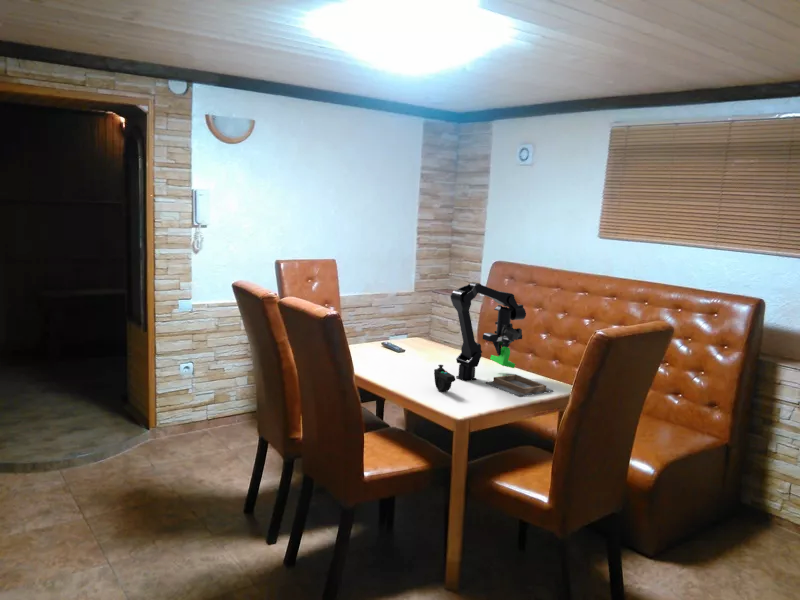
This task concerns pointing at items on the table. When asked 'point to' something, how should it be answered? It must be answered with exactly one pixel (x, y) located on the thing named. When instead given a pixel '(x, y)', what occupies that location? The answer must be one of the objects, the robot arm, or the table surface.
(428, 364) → the table surface
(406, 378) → the table surface
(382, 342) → the table surface
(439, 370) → the controller
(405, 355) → the table surface
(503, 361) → the mechanical part
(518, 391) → the seat
